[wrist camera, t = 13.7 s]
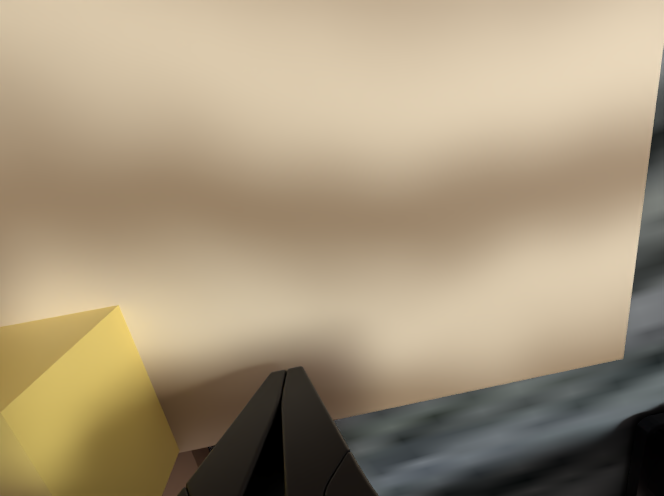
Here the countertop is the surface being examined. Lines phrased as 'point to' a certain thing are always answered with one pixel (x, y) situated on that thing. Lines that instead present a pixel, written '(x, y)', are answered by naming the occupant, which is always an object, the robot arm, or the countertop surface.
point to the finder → (79, 410)
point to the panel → (328, 190)
